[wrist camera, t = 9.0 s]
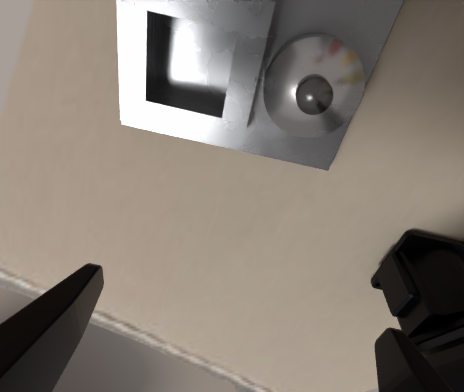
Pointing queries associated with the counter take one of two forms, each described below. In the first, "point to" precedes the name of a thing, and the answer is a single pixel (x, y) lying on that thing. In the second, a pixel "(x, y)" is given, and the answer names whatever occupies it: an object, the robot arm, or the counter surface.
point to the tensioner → (250, 71)
